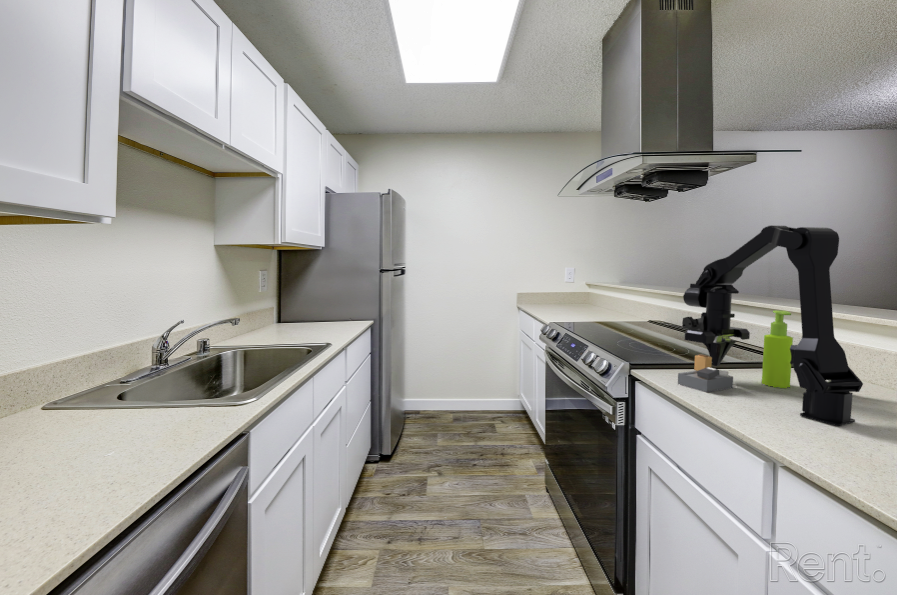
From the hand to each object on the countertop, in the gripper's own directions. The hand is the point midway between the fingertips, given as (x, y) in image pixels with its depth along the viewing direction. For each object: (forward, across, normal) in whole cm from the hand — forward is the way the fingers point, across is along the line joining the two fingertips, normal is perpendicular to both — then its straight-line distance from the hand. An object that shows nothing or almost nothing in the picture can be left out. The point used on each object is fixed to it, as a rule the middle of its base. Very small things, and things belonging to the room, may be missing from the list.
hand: (715, 365), depth 112 cm
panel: (+4, +8, +2) cm, 9 cm away
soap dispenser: (+4, -10, +10) cm, 15 cm away
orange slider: (+1, +5, 0) cm, 5 cm away
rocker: (0, +10, +5) cm, 11 cm away
